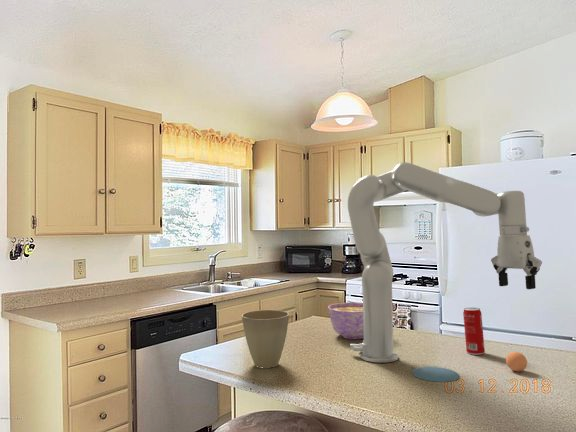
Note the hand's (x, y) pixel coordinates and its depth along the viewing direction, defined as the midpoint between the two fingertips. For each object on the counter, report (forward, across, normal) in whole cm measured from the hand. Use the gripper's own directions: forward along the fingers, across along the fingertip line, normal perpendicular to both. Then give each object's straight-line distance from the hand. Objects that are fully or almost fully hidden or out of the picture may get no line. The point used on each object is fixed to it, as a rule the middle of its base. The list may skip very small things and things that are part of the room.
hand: (516, 287), depth 138 cm
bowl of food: (+22, +54, +26) cm, 64 cm away
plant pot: (+21, +35, +70) cm, 81 cm away
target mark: (+23, +6, +28) cm, 37 cm away
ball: (+21, -2, +4) cm, 22 cm away
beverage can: (+24, +18, +1) cm, 30 cm away
